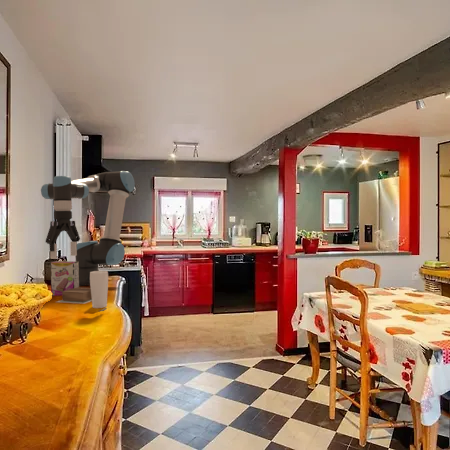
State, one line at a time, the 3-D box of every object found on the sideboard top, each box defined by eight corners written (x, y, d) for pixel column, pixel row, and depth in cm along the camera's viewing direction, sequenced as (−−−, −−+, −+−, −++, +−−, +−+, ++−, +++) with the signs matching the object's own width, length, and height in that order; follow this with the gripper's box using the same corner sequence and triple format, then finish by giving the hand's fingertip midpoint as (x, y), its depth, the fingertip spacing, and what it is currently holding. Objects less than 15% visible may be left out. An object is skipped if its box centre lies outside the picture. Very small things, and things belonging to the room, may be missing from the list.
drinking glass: (89, 309, 152) (88, 271, 151) (107, 307, 155) (106, 270, 154) (91, 313, 146) (91, 273, 145) (110, 310, 149) (109, 272, 148)
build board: (76, 298, 173) (76, 294, 173) (104, 299, 169) (104, 296, 169) (55, 305, 159) (55, 301, 159) (84, 307, 156) (84, 303, 156)
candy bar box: (50, 298, 173) (49, 262, 173) (56, 296, 178) (55, 261, 178) (74, 298, 172) (73, 262, 172) (79, 296, 177) (79, 261, 177)
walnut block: (77, 296, 170) (77, 287, 170) (97, 297, 168) (97, 288, 168) (62, 301, 161) (62, 291, 161) (83, 302, 158) (83, 292, 158)
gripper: (73, 210, 188) (74, 254, 188) (35, 210, 164) (36, 260, 164) (86, 210, 186) (88, 254, 186) (50, 209, 162) (51, 260, 162)
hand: (64, 257), depth 175 cm, fingers open, 13 cm apart
